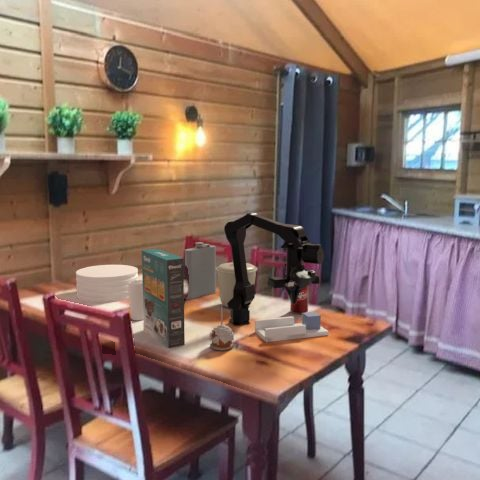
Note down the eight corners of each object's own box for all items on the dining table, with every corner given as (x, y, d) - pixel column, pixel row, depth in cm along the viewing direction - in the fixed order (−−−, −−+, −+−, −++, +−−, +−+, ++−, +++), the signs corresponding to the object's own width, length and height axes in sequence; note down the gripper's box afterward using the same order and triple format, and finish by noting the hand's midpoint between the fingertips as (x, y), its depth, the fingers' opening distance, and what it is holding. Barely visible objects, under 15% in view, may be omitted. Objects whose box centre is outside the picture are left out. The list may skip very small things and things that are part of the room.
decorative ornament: (210, 343, 176) (209, 301, 174) (232, 343, 177) (232, 300, 175) (210, 352, 169) (210, 307, 166) (234, 351, 169) (234, 307, 167)
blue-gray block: (307, 330, 186) (308, 316, 185) (302, 325, 191) (302, 312, 190) (320, 328, 188) (320, 315, 187) (314, 324, 192) (314, 311, 192)
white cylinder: (150, 317, 205) (149, 281, 203) (140, 322, 199) (139, 284, 197) (136, 315, 208) (135, 279, 205) (125, 320, 202) (124, 282, 199)
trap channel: (266, 342, 178) (266, 329, 177) (254, 331, 189) (255, 319, 188) (328, 335, 185) (328, 323, 185) (314, 325, 196) (314, 314, 195)
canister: (234, 314, 210) (234, 263, 207) (207, 304, 224) (206, 257, 221) (265, 306, 222) (266, 258, 219) (238, 297, 236) (238, 252, 232)
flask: (210, 291, 247) (210, 239, 243) (217, 292, 244) (216, 240, 240) (182, 298, 235) (182, 244, 231) (189, 299, 232) (188, 245, 228)
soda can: (307, 314, 209) (307, 286, 208) (289, 313, 211) (290, 285, 209) (308, 309, 217) (309, 282, 215) (291, 308, 218) (291, 281, 216)
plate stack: (150, 292, 246) (150, 268, 244) (106, 305, 222) (105, 280, 220) (109, 284, 260) (108, 262, 259) (63, 296, 237) (62, 272, 235)
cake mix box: (184, 344, 175) (183, 258, 170) (168, 348, 172) (166, 260, 167) (158, 327, 193) (157, 248, 189) (143, 330, 190) (141, 250, 186)
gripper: (282, 267, 172) (281, 312, 174) (329, 263, 179) (328, 306, 182) (266, 261, 182) (266, 304, 184) (312, 257, 190) (311, 299, 192)
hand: (293, 303), depth 185 cm, fingers closed
